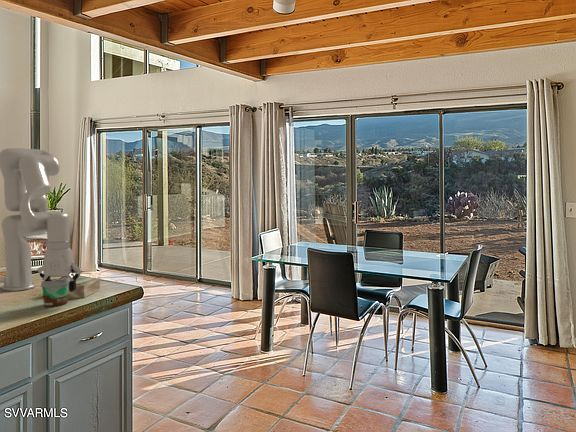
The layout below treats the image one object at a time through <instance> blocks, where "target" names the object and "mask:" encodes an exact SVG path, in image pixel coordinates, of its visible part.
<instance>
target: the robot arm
mask: <svg viewBox="0 0 576 432" xmlns="http://www.w3.org/2000/svg"><path fill="white" fill-rule="evenodd" d="M0 172H1V174H2V178H3V188H4V189H3V190H4V191H3V193H4V206H5V209H6V210H7V211H9V212H19V214H12V215H8V216H4V218H3V219H2V221H1V231H2V236H3V240H4V253H5V254H4V256H5V258H4V259H5V277H0V283H1V284H2V283H3V286H1V287H2V290H3V291H7V292H8V291H9V292H17V291H18V292H19V291H26V290H30V289H34V288H35V287H36V286H37V283H36V282H35V281H33V280H32V279H33V274H32V249H31V245H30V243H29V242H28V241H27V239H25V237H34V236H42V235H44V234H46V240H47V241H46V242H44V246H45V247H46V248H47V249H45V251H44V255H43V256H44V257H43V265H42V266H40V267H38V268H37V269H36V270H37V272H38V274H39V277H40V278H41V279H42V281H50V280H52V279H51V278H52V277H56V278H57V277H58V278H61V277H66V276H67V277H68V278H69V279H70V280H71V281H69V291H70V292H72V291H75V290H76V280H77V278H80V276H81V274H82V272H83V269H82V268H81V267H79V266H77V265H76V264H75V259H74V258H75V257H74V253H73V251H72V248H71V244H70V243H71V241H70V238H71V237H70V219H69V217H70V216H69V214H68V213H65V212H61V211H48V198H47V194H49V192H50V191H51V189H52V188H51V187H52V186H51V183H50V181H49V177H51V176H52V177H53V176H57V175H58V174H59V172H60V163H59V160H58V159H57V157H55V156H54V155H53V154H52V153H49V152H48V151H46V150H43V149H39V148H37V149H35V148H23V147H22V148H18V147H13V148H12V147H11V148H4V149H1V151H0ZM48 176H49V177H48Z"/></svg>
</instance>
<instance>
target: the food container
mask: <svg viewBox="0 0 576 432" xmlns="http://www.w3.org/2000/svg"><path fill="white" fill-rule="evenodd" d="M69 281H70V279H69V278H68V277H67V276H66V277H58V278H53V279H51V280H50V281H43V280H42V281H41V284H40V287H41V289H42V296H43V307H44V308H55V307H57V308H58V307H61V306H65V305H67V304H68V298H69V297H68V284H69Z"/></svg>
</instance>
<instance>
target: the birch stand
mask: <svg viewBox="0 0 576 432" xmlns="http://www.w3.org/2000/svg"><path fill="white" fill-rule="evenodd" d="M100 280H101V279H100V278H95V277H78V278H77V280H76V290H75V291H72V292H70V291H69V284H68V298H79V299H80V298H81V299H85V298H87V297H89V296H91V295H93V294H94V295H95V293H98V292H100V290H101V287H100V284H101V283H100ZM70 281H71V280H70Z"/></svg>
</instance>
